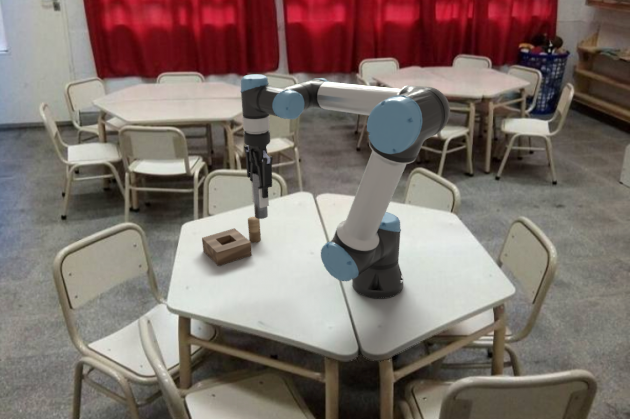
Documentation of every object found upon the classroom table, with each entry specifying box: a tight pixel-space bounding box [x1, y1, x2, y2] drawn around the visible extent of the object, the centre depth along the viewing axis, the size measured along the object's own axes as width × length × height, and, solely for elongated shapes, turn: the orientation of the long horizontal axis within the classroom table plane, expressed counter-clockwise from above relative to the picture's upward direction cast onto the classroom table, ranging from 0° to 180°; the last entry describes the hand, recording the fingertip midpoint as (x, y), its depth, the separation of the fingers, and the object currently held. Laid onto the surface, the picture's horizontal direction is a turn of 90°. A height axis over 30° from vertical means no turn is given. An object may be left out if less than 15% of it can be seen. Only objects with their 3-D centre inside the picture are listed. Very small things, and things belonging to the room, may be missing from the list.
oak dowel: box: [247, 216, 262, 244], centre depth 190 cm, size 4×4×8 cm
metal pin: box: [252, 171, 269, 220], centre depth 167 cm, size 4×4×14 cm
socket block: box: [201, 228, 253, 267], centre depth 182 cm, size 12×12×5 cm
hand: (260, 203), depth 168 cm, fingers closed on metal pin, 4 cm apart
